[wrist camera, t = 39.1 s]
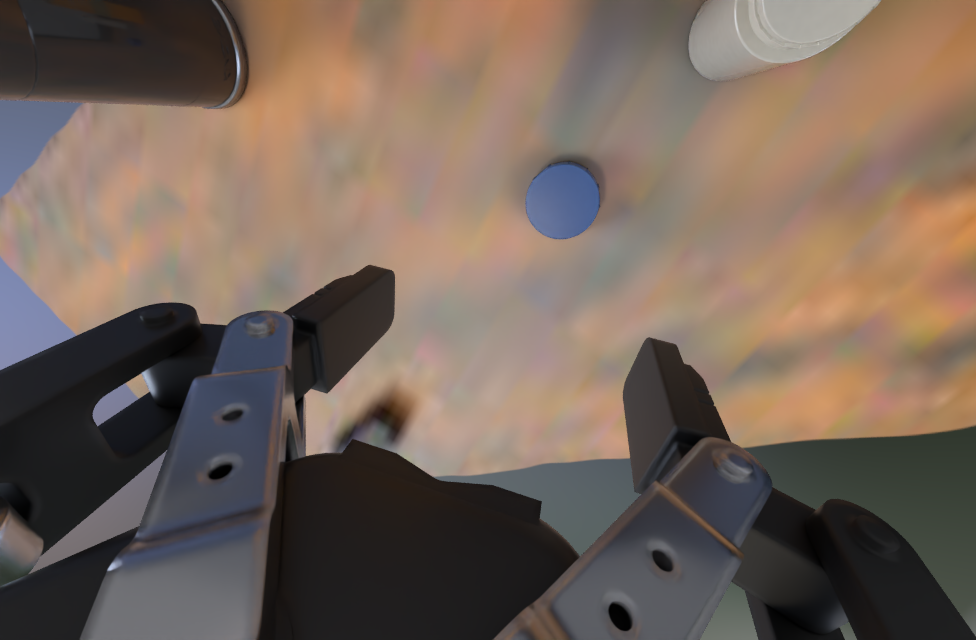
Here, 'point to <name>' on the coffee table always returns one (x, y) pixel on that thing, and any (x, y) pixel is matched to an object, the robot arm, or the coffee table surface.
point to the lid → (563, 200)
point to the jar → (767, 33)
